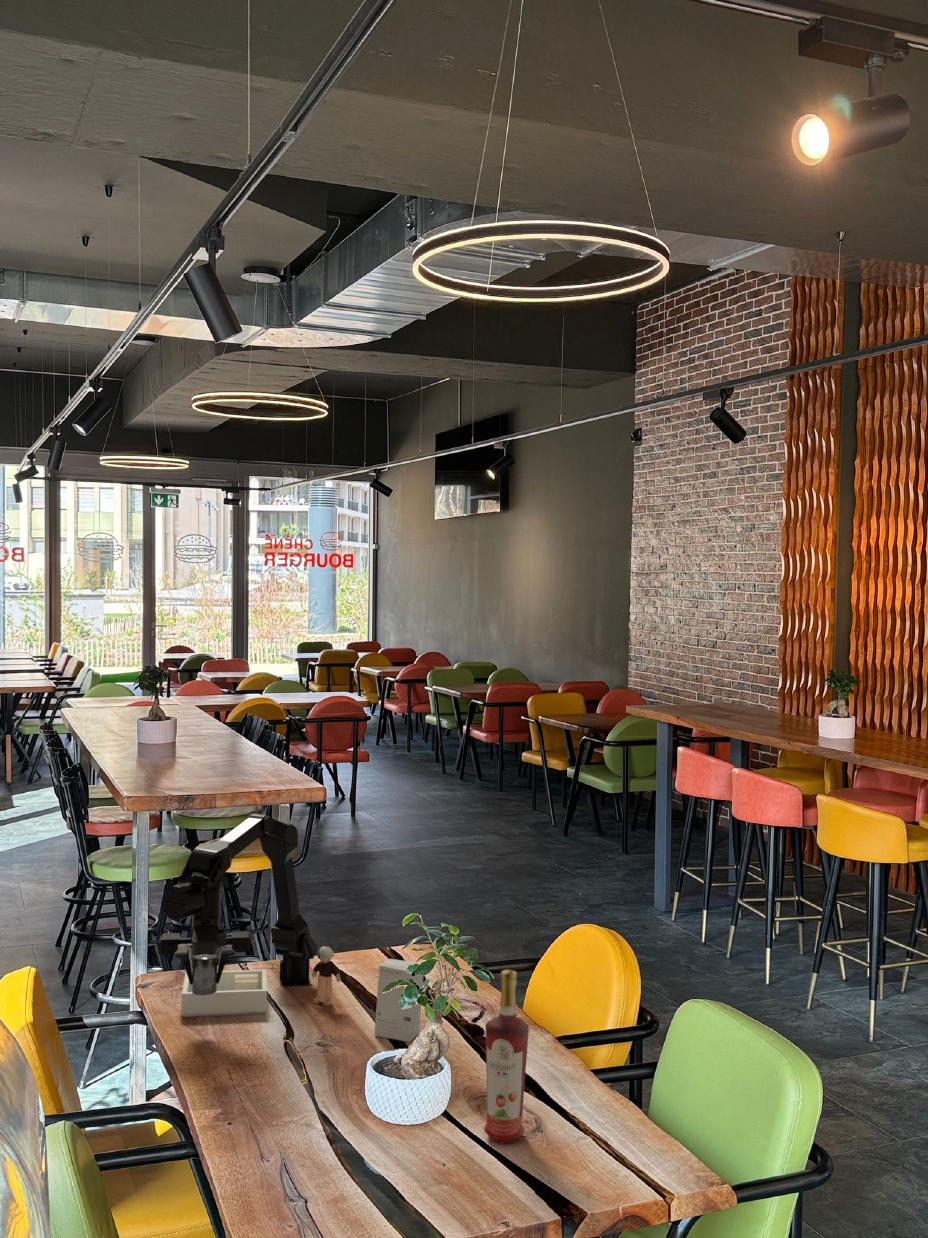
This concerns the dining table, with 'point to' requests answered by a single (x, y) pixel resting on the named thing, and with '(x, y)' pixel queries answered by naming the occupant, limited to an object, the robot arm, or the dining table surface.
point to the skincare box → (396, 1003)
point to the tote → (226, 997)
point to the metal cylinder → (204, 974)
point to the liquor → (506, 1066)
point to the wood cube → (246, 982)
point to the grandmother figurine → (325, 976)
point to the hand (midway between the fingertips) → (204, 983)
